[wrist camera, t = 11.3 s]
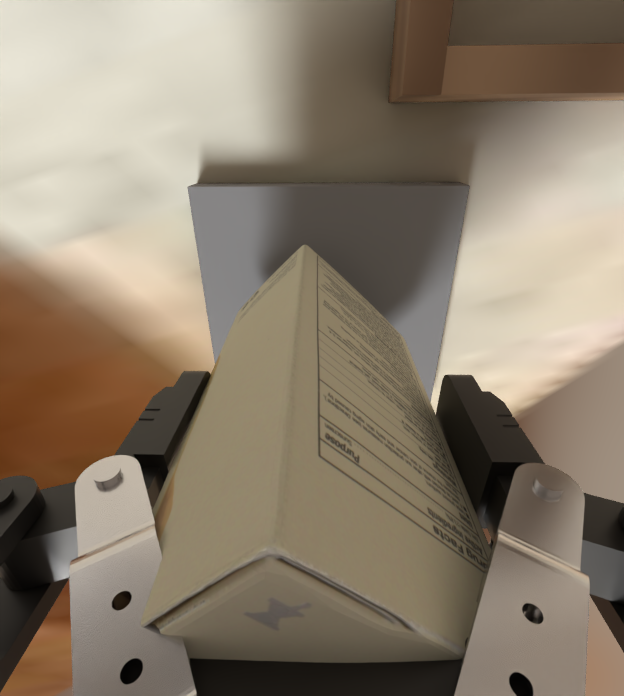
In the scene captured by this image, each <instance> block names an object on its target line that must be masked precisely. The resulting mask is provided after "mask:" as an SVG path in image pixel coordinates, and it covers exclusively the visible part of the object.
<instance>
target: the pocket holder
mask: <svg viewBox="0 0 624 696" xmlns="http://www.w3.org/2000/svg"><path fill="white" fill-rule="evenodd" d="M453 2H454V0H396V9H395V22H394V35H393V48H392V61H391V74H390V87H389V101H388V103H404V102H492V101H579V100H624V43H592V44H530V45H469V46H448V39H449V32H450V24H451V17H452V9H453Z"/></svg>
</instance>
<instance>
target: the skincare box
mask: <svg viewBox="0 0 624 696" xmlns="http://www.w3.org/2000/svg"><path fill="white" fill-rule="evenodd" d="M153 514H154V519H155V524H156V529H157V534H158V539H159V544H160V549H161V553H162V560H161V563H160V566H159V569H158V572H157V575H156V578H155V581H154V584H153V587H152V590H151V593H150V596H149V598H148V601H147V604H146V607H145V610H144V613H143V616H142V619H141V626H142V627H144V626H147V625H149V624H155V625H156V626H157V627H158V628H159V630H160V633H161V634H166V635H174V636H182V637H183V640H184V642H185V645H186V648H187V651H188V654H189V657H190V658H197V659H224V660H252V661H286V662H325V663H365V662H409V661H438V660H458V659H461V658H463V654H464V651H465V641H466V639H467V637H468V636H469V633H470V629H471V626H472V622H473V618H474V615H475V611H476V608H477V604H478V603H477V602H476V600H477V596H478V592H479V587H480V583H481V579H482V576H483V573H484V570H485V568H486V565H487V562H488V559H489V556H490V553H491V549H490V546H489V544H488V542H487V540H486V537H485V534H484V532H483V529H482V527H481V524H480V522H479V519H478V517H477V514H476V512H475V510H474V507H473V505H472V502H471V500H470V497H469V495H468V492H467V490H466V488H465V485H464V483H463V480H462V478H461V475H460V473H459V471H458V468H457V466H456V463H455V461H454V458H453V456H452V454H451V451H450V449H449V446H448V444H447V442H446V439H445V437H444V434H443V432H442V429H441V427H440V425H439V422H438V420H437V417H436V415H435V413H434V410H433V408H432V405H431V403H430V400H429V398H428V396H427V393H426V391H425V388H424V386H423V383H422V381H421V379H420V376H419V374H418V371H417V369H416V366H415V364H414V361H413V359H412V356H411V354H410V352H409V349H408V347H407V344H406V342H405V340H404V338H403V337H402V336H401V334H400V333H399V332H398V331H397V330H396V329H395V328H394V327H393V326H392V325H391V324H390V323H389V322H388V321H387V320H386V319H385V318H384V317H383V316H382V315H381V314H380V313H379V312H378V311H377V310H376V309H375V308H374V307H373V306H372V305H371V304H370V303H369V302H368V301H367V300H366V299H365V298H364V297H363V296H362V295H361V294H360V293H359V292H358V291H357V290H356V289H355V288H354V287H352V286H351V285H350V284H349V283H348V282H347V281H346V280H345V279H344V278H343V277H342V276H341V275H340V274H339V273H338V272H337V271H335V270H334V269H333V268H332V267H331V266H330V265H329V264H328V263H327V262H326V261H324V260H323V259H322V258H321V257H320V256H319V255H318V254H317V253H315V252H314V251H313V250H312V249H311V248H310V247H309V246H307V245H302V246H301V247H300V248H299V249H298V250H297V251H296V252H295V253H294V254H293V255H292V256H291V257H290V258H289V259H288V260H287V261H286V262H285V263H284V264H283V265H282V266H281V267H280V268H279V269H278V270H277V271H276V272H275V273H274V274H273V275H272V276H271V277H270V278H269V279H268V280H267V281H266V282H265V283H264V284H263V285H262V286H261V287H260V288H259V289H258V290H257V291H256V292H255V293H254V294H253V295H252V297H251V298H250V299H249V300H248V301H247V302H246V303H245V304H244V306H243V307H242V308H241V309H240V310H239V311H238V313H237V315H236V317H235V320H234V322H233V324H232V327H231V329H230V331H229V333H228V336H227V338H226V340H225V343H224V345H223V347H222V350H221V352H220V354H219V357H218V359H217V361H216V364H215V366H214V369H213V371H212V373H211V376H210V378H209V380H208V383H207V385H206V387H205V389H204V392H203V394H202V396H201V399H200V401H199V403H198V405H197V408H196V410H195V413H194V415H193V417H192V419H191V422H190V424H189V426H188V429H187V431H186V433H185V436H184V438H183V440H182V442H181V445H180V447H179V449H178V452H177V454H176V456H175V459H174V461H173V463H172V466H171V468H170V470H169V473H168V475H167V478H166V480H165V482H164V485H163V487H162V489H161V492H160V494H159V496H158V499H157V501H156V503H155V506H154V508H153Z"/></svg>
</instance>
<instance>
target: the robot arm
mask: <svg viewBox="0 0 624 696" xmlns="http://www.w3.org/2000/svg"><path fill="white" fill-rule="evenodd" d="M210 376H211V375H210V373H209V372H208V371H184V372H183V373H182V374H181V376H180V378H179V379H178V381H177V382H176V384H175V386H174V387H165V388H164V389H163V390H161V391H160V392H159V393H157V394H156V395H155V396H153V398H152V399H151V401H150V402H149V404H148V405H147V407H146V408H145V411H143V413H142V414H141V416H140V417H139V421H137V422H136V423H135V425H134V426H133V428H132V429H131V431H130V432H129V434H128V435H127V437H126V438H125V440H124V441H123V443H122V444H121V446H120V447H119V449H118V450H117V452H116V453H115V455H114V456H110V457H107V458H104V459H102V460H99V461H97V462H96V463H94V464H92V465H91V466H89V467H88V468H87V469H86V470H85V471H84V472H83V473H82V474H81V475H80V476H79V478H78V479H77V481H76V482H73V483H69V484H64V485H60V486H55V487H51V488H47V489H42V490H40V489H39V487H38V486H37V484H36V482H35V481H34V479H32V478H31V477H27V476H13V477H8V478H4V479H2V480H0V692H1V690H2V689H3V687H4V685H5V684H6V682H7V680H8V679H9V677H10V675H11V674H12V672H13V671H14V669H15V667H16V666H17V664H18V662H19V661H20V659H21V657H22V656H23V654H24V652H25V651H26V649H27V647H28V646H29V644H30V642H31V641H32V639H33V637H34V636H35V634H36V632H37V631H38V629H39V627H40V626H41V624H42V622H43V621H44V619H45V617H46V616H47V614H48V612H49V611H50V609H51V607H52V606H53V604H54V602H55V601H56V599H57V598H58V596H59V594H60V593H61V591H62V589H63V588H64V586H65V584H66V583H67V581H68V579H69V578H70V609H71V642H72V674H73V696H585V684H586V661H587V660H586V659H587V639H588V638H587V637H588V616H589V595H590V596H591V598H592V600H593V601H594V603H595V605H596V606H597V608H598V610H599V611H600V613H601V615H602V617H603V618H604V620H605V622H606V623H607V625H608V626H609V628H610V630H611V632H612V633H613V635H614V637H615V638H616V640H617V642H618V643H619V645H620V647H621V648H622V650H623V652H624V503H620V502H616V501H612V500H608V499H604V498H601V497H597V496H593V495H589V494H586V493H583V491H582V489H581V488H580V486H579V485H578V484H577V483H576V482H575V481H574V480H573V479H572V478H571V477H570V476H568V475H567V474H565V473H564V472H562V471H560V470H559V469H556V468H554V467H552V466H549V465H545V463H544V462H543V460H542V459H541V457H540V456H539V454H538V453H537V451H536V450H535V449H534V447H533V445H532V444H531V442H530V441H529V439H528V438H527V436H526V435H525V433H524V432H523V431H522V429H521V428H519V424H518V423H517V421H516V420H515V418H514V417H512V414H511V412H510V411H509V409H508V408H507V406H506V405H505V403H504V402H503V401H501V400H500V399H499V398H498V397H496V396H495V395H494V394H492V393H491V392H482V391H481V389H480V387H479V386H478V384H477V382H476V381H475V379H474V377H473V376H472V375H445V376H444V378H443V381H442V386H441V391H440V396H439V401H438V406H437V412H436V417H437V420H438V422H439V425H440V427H441V429H442V432H443V434H444V437H445V439H446V442H447V444H448V446H449V449H450V451H451V454H452V456H453V458H454V461H455V463H456V466H457V468H458V471H459V473H460V475H461V478H462V480H463V483H464V485H465V488H466V490H467V492H468V495H469V497H470V500H471V502H472V505H473V507H474V510H475V512H476V514H477V517H478V519H479V522H480V524H481V527H482V528H487V529H488V531H489V533H490V536H491V540H490V543H489V546H490V549H491V553H490V556H489V559H488V562H487V565H486V568H485V570H484V573H483V576H482V579H481V583H480V587H479V592H478V596H477V600H476V602H477V603H478V604H477V608H476V611H475V615H474V618H473V622H472V626H471V629H470V633H469V636H468V637H467V639H466V641H465V651H464V654H463V658H461V659H458V660H438V661H409V662H365V663H325V662H286V661H252V660H224V659H197V658H190V657H189V654H188V651H187V648H186V645H185V642H184V640H183V637H182V636H174V635H166V634H161V633H160V630H159V628H158V627H157V626H156V625H155V624H149V625H147V626H144V627H142V626H141V619H142V616H143V613H144V610H145V607H146V604H147V601H148V598H149V596H150V593H151V590H152V587H153V584H154V581H155V578H156V575H157V572H158V569H159V566H160V563H161V560H162V553H161V549H160V544H159V539H158V534H157V529H156V524H155V519H154V514H153V508H154V506H155V503H156V501H157V499H158V496H159V494H160V492H161V489H162V487H163V485H164V482H165V480H166V478H167V475H168V473H169V470H170V468H171V466H172V463H173V461H174V459H175V456H176V454H177V452H178V449H179V447H180V445H181V442H182V440H183V438H184V436H185V433H186V431H187V429H188V426H189V424H190V422H191V419H192V417H193V415H194V413H195V410H196V408H197V405H198V403H199V401H200V399H201V396H202V394H203V392H204V389H205V387H206V385H207V383H208V380H209V378H210Z"/></svg>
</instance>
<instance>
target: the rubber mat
mask: <svg viewBox="0 0 624 696" xmlns="http://www.w3.org/2000/svg"><path fill="white" fill-rule="evenodd" d="M469 187H470V186H469V185H466V184H463V183H460V182H439V183H216V184H194V185H191V186H189V187H188V193H189V199H190V206H191V212H192V219H193V225H194V232H195V238H196V244H197V251H198V257H199V264H200V270H201V277H202V283H203V289H204V296H205V302H206V309H207V315H208V321H209V328H210V334H211V341H212V347H213V354H214V360H215V364H216V361H217V359H218V357H219V354H220V352H221V350H222V347H223V345H224V343H225V340H226V338H227V336H228V333H229V331H230V329H231V327H232V324H233V322H234V320H235V317H236V315H237V313H238V311H239V310H240V309H241V308H242V307H243V306H244V304H245V303H246V302H247V301H248V300H249V299H250V298H251V297H252V295H253V294H254V293H255V292H256V291H257V290H258V289H259V288H260V287H261V286H262V285H263V284H264V283H265V282H266V281H267V280H268V279H269V278H270V277H271V276H272V275H273V274H274V273H275V272H276V271H277V270H278V269H279V268H280V267H281V266H282V265H283V264H284V263H285V262H286V261H287V260H288V259H289V258H290V257H291V256H292V255H293V254H294V253H295V252H296V251H297V250H298V249H299V248H300V247H301V246H302V245H307V246H309V247H310V248H311V249H312V250H313V251H314V252H315V253H317V254H318V255H319V256H320V257H321V258H322V259H323V260H324V261H326V262H327V263H328V264H329V265H330V266H331V267H332V268H333V269H334V270H335V271H337V272H338V273H339V274H340V275H341V276H342V277H343V278H344V279H345V280H346V281H347V282H348V283H349V284H350V285H351V286H352V287H354V288H355V289H356V290H357V291H358V292H359V293H360V294H361V295H362V296H363V297H364V298H365V299H366V300H367V301H368V302H369V303H370V304H371V305H372V306H373V307H374V308H375V309H376V310H377V311H378V312H379V313H380V314H381V315H382V316H383V317H384V318H385V319H386V320H387V321H388V322H389V323H390V324H391V325H392V326H393V327H394V328H395V329H396V330H397V331H398V332H399V333H400V334H401V336H402V337H403V338H404V340H405V342H406V344H407V347H408V349H409V352H410V354H411V356H412V359H413V361H414V364H415V366H416V369H417V371H418V374H419V376H420V379H421V381H422V383H423V386H424V388H425V391H426V393H427V396H428V398H429V400H430V402H431V396H432V391H433V385H434V380H435V374H436V369H437V363H438V358H439V352H440V347H441V341H442V336H443V330H444V325H445V319H446V314H447V308H448V302H449V297H450V291H451V286H452V280H453V275H454V269H455V264H456V258H457V253H458V247H459V242H460V236H461V231H462V225H463V220H464V214H465V209H466V203H467V198H468V192H469Z"/></svg>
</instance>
